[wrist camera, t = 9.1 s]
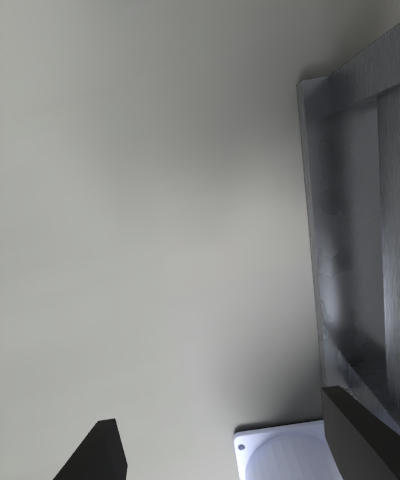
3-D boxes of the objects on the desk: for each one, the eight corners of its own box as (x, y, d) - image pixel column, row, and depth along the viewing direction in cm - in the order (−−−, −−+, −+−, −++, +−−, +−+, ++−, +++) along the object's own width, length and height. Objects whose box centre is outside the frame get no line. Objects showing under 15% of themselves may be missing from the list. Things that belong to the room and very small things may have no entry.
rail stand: (405, 369, 22) (502, 460, 15) (322, 381, 22) (379, 477, 15) (399, 67, 18) (529, -1, 11) (296, 85, 18) (359, 28, 11)
